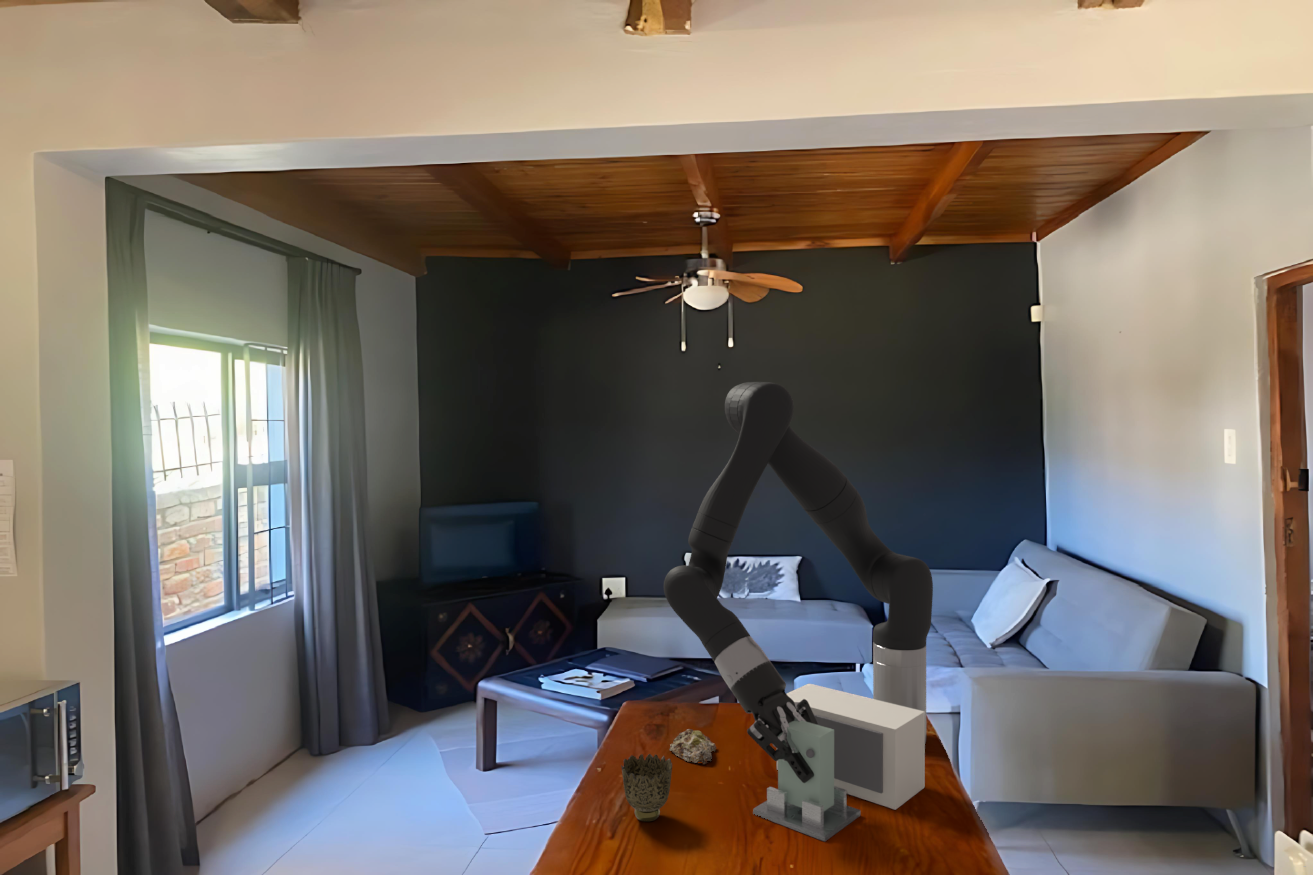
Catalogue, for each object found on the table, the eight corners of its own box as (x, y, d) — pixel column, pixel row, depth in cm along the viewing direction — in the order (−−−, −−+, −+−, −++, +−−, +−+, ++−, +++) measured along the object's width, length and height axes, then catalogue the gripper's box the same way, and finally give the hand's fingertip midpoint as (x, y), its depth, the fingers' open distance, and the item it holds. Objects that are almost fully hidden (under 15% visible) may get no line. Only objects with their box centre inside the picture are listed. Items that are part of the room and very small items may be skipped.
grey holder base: (790, 791, 130) (790, 767, 130) (860, 815, 122) (860, 789, 122) (753, 814, 123) (753, 788, 123) (824, 841, 115) (824, 814, 115)
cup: (667, 832, 118) (667, 776, 117) (616, 827, 119) (616, 772, 119) (676, 808, 125) (676, 755, 125) (628, 803, 126) (628, 751, 126)
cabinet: (809, 751, 145) (808, 683, 145) (924, 787, 131) (924, 711, 131) (774, 771, 137) (774, 698, 137) (893, 811, 123) (893, 730, 123)
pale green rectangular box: (793, 790, 126) (793, 718, 126) (834, 804, 121) (834, 729, 121) (774, 801, 122) (774, 727, 122) (815, 817, 118) (815, 739, 117)
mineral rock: (661, 732, 149) (703, 716, 151) (667, 754, 150) (709, 738, 152) (676, 758, 139) (721, 740, 141) (683, 782, 139) (727, 764, 141)
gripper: (735, 671, 122) (807, 777, 114) (789, 650, 132) (858, 746, 124) (707, 699, 125) (774, 804, 117) (761, 676, 136) (827, 772, 128)
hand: (817, 774), depth 121 cm, fingers closed on pale green rectangular box, 4 cm apart
